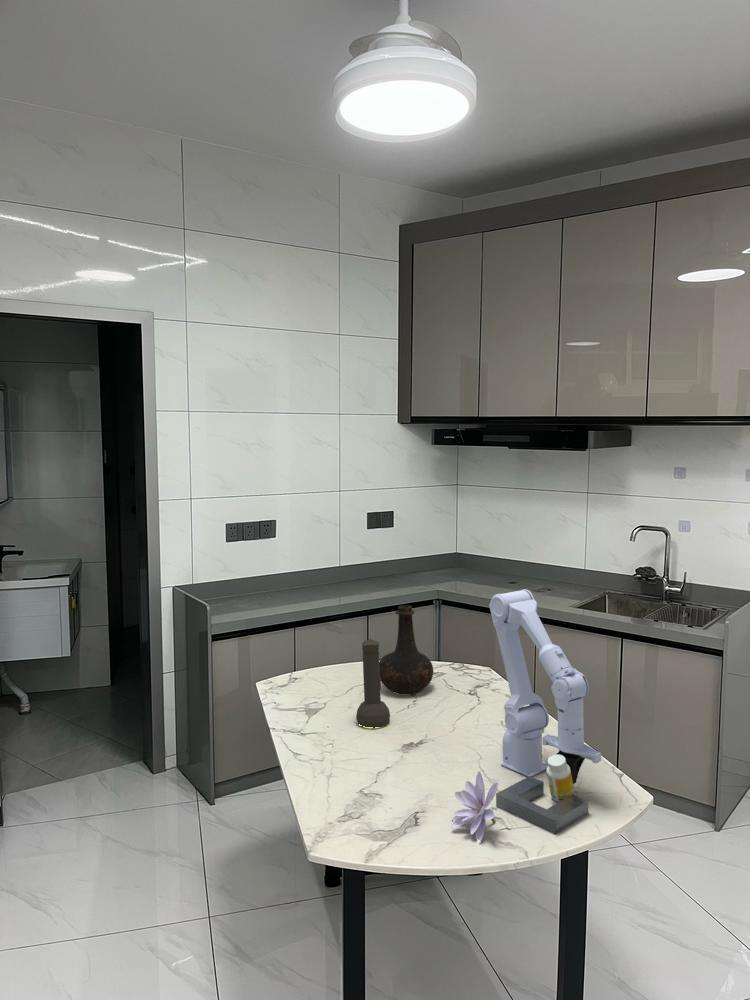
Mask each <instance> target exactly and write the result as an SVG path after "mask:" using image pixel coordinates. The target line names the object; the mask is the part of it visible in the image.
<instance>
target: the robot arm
mask: <svg viewBox="0 0 750 1000" xmlns="http://www.w3.org/2000/svg"><path fill="white" fill-rule="evenodd" d="M489 610H490V614H491V619H492V623H493V627H494V628H495V633H496V636H497V641H498V645H499V649H500V653H501V657H502V662H503V666H504V672H505V674H506V679H507V683H508V687H509V688H508V689H509V692H510V693H509V694H510V697H509V698H508V700H506V702H505V704H504V705H503V709H504V724H505V728H506V730H505V731H504V734H503V736H502V761H501V763H500V765H501V766H502V767H505V768H507V769H509V770H511V771H514V772H516V773H519V774H521V775H524V776H525V777H529V776H531V777H534V776H536V775H537V774H539V773H541V772H543V771H545V770H547V767H548V763H546V762H543V746H549V747H554V748H555V749H557V750H558V752H557V753H556V754H559V755H562V756H564V757H565V759H566V764H568V765H569V767H570V770H571V775H572V781H573V785H574V784H577V782H578V781H577V780H578V776H579V773H580V769H581V767H582V765H583V763H584V761H585V760H589V761H591V762H592V763H593V764H598V763H600V762H601V761H602V753H601V752H599V751H598V750H596V749H594V748H592V747H590V746H588V745H587V744H586V743H585V739H584V738H585V734H584V733H585V732H584V697H586V696H587V695H588V693H589V691H590V690H589V689H590V688H589V687H590V686H589V682H588V680H587V678H586V675H584V674H583V673H582V672H580V671H578V670H577V668H575V667H574V668H573V665H571V663H570V661H569V660H568V657H567V656H566V654H565V653H564V652H563V649H562V648H561V647H560V646H559V645H556V644H554V643H553V642H552V640H551V638H550V637H549V634H548V633H547V630H546V628H545V626H544V625H543V622H542V620H541V619H540V617H539V614H538V613H537V611H538V602H537V601H536V599H535V598H534V595H533V593H532V592H531V591H530V590H528V589H526V588H525V589H520V590H516V591H511V592H510V591H509V592H506V593H505V592H504V593H496V594H494V595H493V596H492V598H491V600H490V602H489ZM520 626H521V627H522V628H523V630H524V631H525V632H526V633H527V636H528V637H529V638H530V639H531V641H532V642H533V644H534V645H535V647H536V648H537V649H538V651H539V652H538V653H539V654H538V661H539V662H540V664H541V665H542V667H543V669H544V670H545V672H546V674H547V675H548V677H549V679H550V680H551V682H552V685H551V687H550V688H551V692H552V693H551V694H552V695H553V697H554V700H555V701H554V703H555V704H554V705H555V706H556V708H557V736H555V735H550V734H545V735H543V734H544V733H545V729H546V728H547V727H548V726H549V723H550V717H549V712H548V710H547V708H546V706H545V705H544V701H543V699H542V697H541V696H540V695H538V694H536V693H535V692H533V688H532V683H531V679H530V676H529V672H528V669H527V662H526V660H525V656H524V655H525V654H524V651H523V647H522V642H521V639H520V634H519V628H520Z"/></svg>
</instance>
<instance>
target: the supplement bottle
mask: <svg viewBox="0 0 750 1000" xmlns="http://www.w3.org/2000/svg"><path fill="white" fill-rule="evenodd" d="M547 764H548V767H547V769H546V777H547V781H548V787H549V792H550V796H551V798H552V799H553V800H554V801H556V802H557V803H558V802H560V801H562V800H564V799H565V798H567V797H569V796H570V795H572V794H574V795H576V794H575V793H576V792H575V787H574V786H575V785H574V784H573V781H572V775H571V770H570V767H569V765H568V764H566V759H565V757H564V756H562V755H559V754H557V753H555V754H552V755H550V756H549V757H548V758H547Z"/></svg>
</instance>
